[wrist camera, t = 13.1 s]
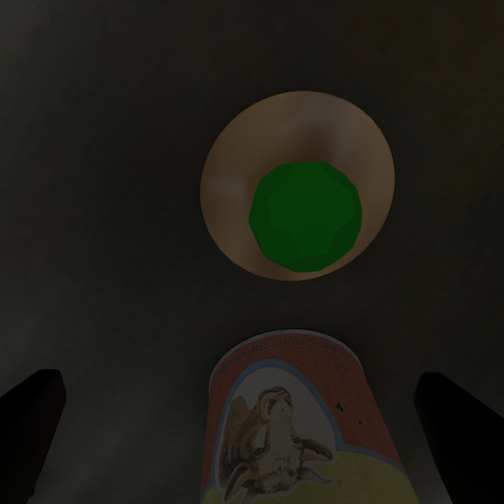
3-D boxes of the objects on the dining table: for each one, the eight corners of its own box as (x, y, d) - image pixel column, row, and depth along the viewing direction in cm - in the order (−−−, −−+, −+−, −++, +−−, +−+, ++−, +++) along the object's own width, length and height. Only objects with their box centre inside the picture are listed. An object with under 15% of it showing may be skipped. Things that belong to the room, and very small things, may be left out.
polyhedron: (353, 224, 17) (390, 268, 13) (267, 255, 18) (276, 307, 14) (328, 133, 15) (362, 152, 11) (232, 172, 16) (229, 205, 12)
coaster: (201, 275, 19) (201, 278, 19) (198, 84, 14) (198, 83, 14) (368, 280, 20) (370, 283, 19) (415, 97, 15) (420, 97, 15)
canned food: (337, 305, 20) (444, 546, 10) (379, 411, 25) (481, 648, 15) (179, 363, 22) (125, 620, 12) (248, 451, 27) (254, 689, 16)
